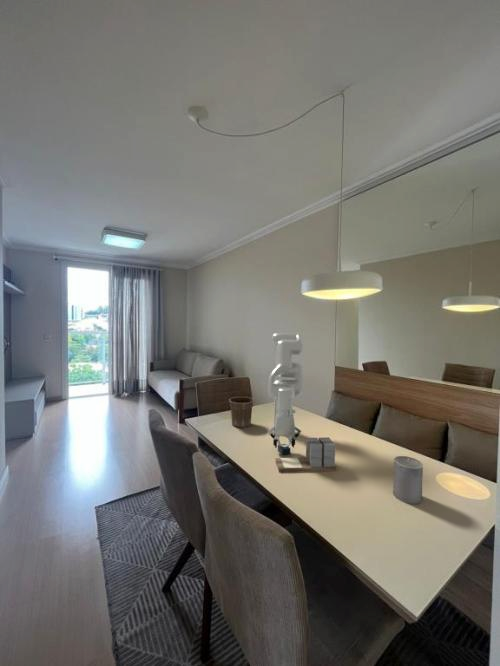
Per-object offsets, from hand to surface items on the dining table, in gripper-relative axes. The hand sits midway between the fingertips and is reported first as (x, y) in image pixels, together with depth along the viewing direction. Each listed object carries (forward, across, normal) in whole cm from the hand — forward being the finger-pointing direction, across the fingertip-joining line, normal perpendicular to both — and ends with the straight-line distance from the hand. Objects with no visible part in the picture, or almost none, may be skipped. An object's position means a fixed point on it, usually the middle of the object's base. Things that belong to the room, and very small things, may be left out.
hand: (284, 446), depth 144 cm
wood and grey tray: (+3, -7, +14) cm, 16 cm away
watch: (+3, 0, 0) cm, 3 cm away
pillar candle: (+4, -40, +39) cm, 56 cm away
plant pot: (+3, +20, -41) cm, 46 cm away
